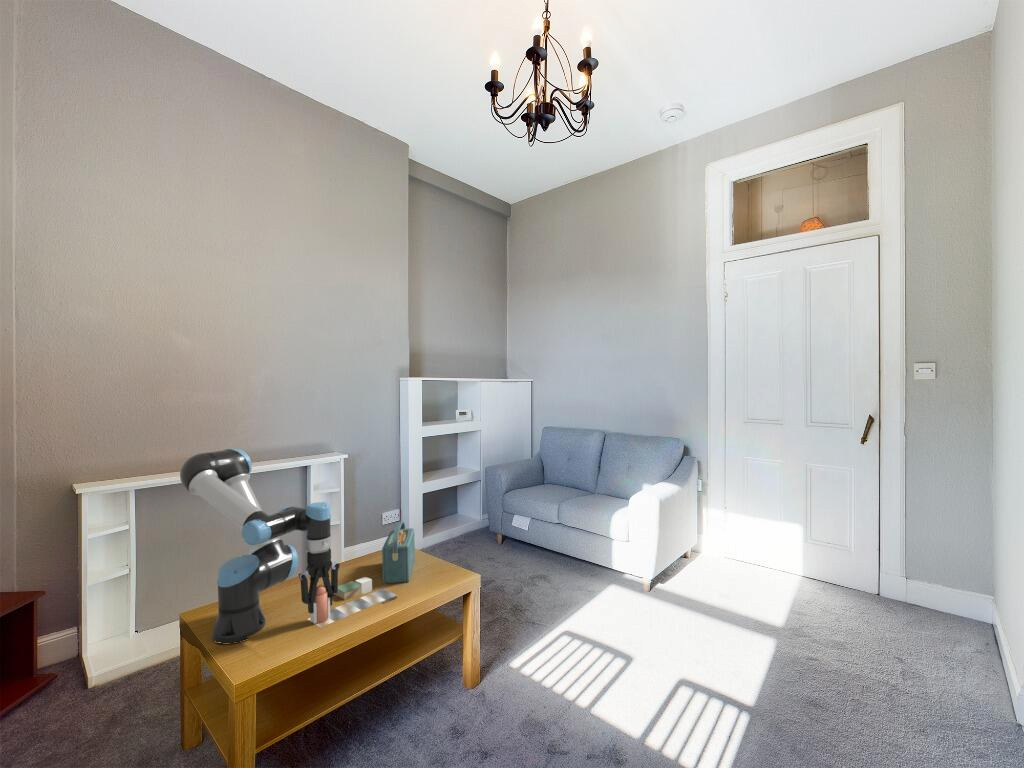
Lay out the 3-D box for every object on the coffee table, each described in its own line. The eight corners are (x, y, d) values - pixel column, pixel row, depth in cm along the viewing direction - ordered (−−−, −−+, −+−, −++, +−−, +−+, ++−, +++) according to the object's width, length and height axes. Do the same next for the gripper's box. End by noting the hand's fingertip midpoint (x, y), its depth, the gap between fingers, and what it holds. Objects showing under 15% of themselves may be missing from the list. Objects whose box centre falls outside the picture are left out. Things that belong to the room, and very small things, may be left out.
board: (320, 631, 153) (320, 627, 153) (307, 622, 159) (307, 619, 159) (396, 598, 176) (396, 594, 176) (383, 591, 181) (383, 588, 181)
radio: (391, 561, 213) (390, 517, 213) (415, 559, 214) (414, 516, 215) (381, 585, 188) (380, 535, 188) (409, 583, 189) (408, 533, 189)
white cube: (361, 583, 179) (371, 579, 183) (355, 580, 182) (365, 576, 186) (361, 595, 179) (372, 591, 183) (355, 592, 182) (365, 587, 185)
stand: (344, 603, 172) (344, 592, 172) (335, 597, 177) (334, 587, 177) (361, 596, 178) (361, 585, 178) (351, 591, 182) (351, 581, 182)
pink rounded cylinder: (317, 624, 155) (316, 589, 155) (311, 620, 157) (310, 586, 158) (330, 619, 158) (329, 585, 158) (323, 615, 161) (323, 581, 161)
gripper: (299, 559, 149) (300, 633, 149) (348, 545, 162) (349, 612, 162) (288, 554, 154) (290, 625, 154) (337, 540, 167) (338, 606, 167)
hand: (320, 618), depth 158 cm, fingers closed on pink rounded cylinder, 4 cm apart
